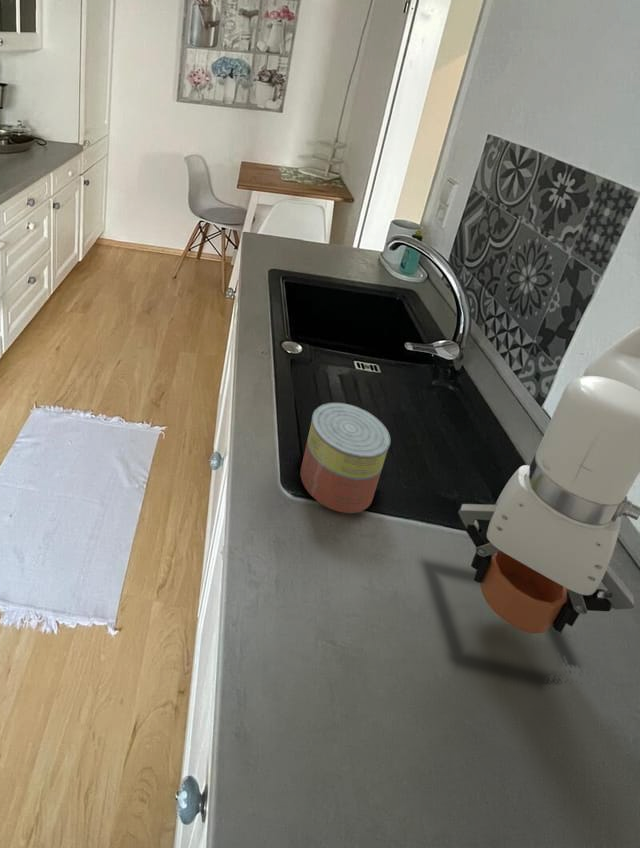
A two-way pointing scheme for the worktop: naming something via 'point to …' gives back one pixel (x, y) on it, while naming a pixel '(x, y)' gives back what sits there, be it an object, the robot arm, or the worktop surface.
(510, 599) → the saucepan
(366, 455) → the canned food
